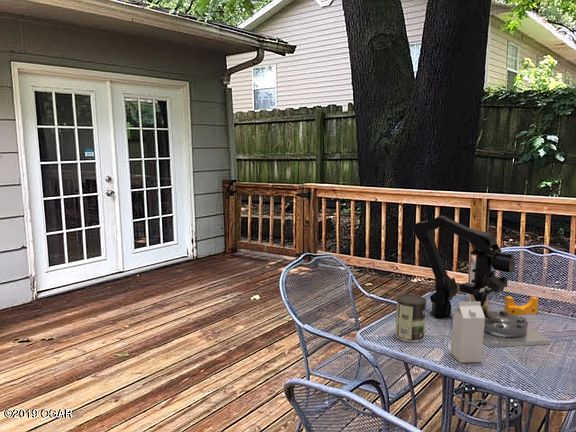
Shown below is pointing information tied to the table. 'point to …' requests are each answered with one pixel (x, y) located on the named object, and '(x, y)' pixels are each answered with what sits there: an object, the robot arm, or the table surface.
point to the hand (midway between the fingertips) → (480, 307)
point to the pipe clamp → (521, 310)
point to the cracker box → (473, 261)
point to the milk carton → (468, 332)
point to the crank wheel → (503, 323)
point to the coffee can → (410, 318)
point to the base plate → (515, 339)
